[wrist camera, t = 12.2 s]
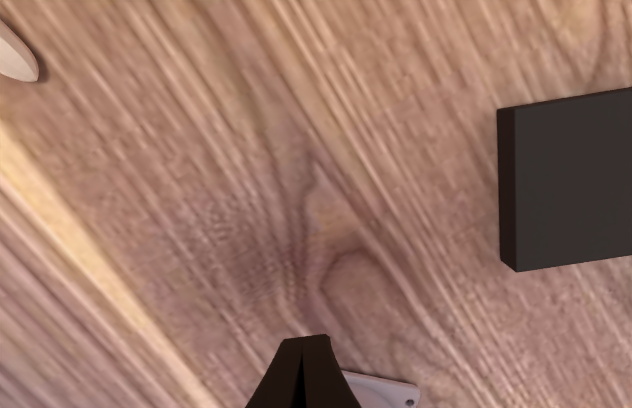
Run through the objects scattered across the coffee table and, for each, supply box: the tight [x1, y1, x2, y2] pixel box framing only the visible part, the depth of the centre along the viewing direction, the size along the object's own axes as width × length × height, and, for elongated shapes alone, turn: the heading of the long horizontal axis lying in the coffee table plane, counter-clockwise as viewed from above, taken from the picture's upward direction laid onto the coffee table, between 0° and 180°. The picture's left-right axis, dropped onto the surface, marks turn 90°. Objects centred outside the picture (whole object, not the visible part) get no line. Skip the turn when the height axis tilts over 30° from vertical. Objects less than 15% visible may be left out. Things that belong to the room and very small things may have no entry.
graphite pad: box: [497, 87, 632, 272], centre depth 17 cm, size 10×8×2 cm
